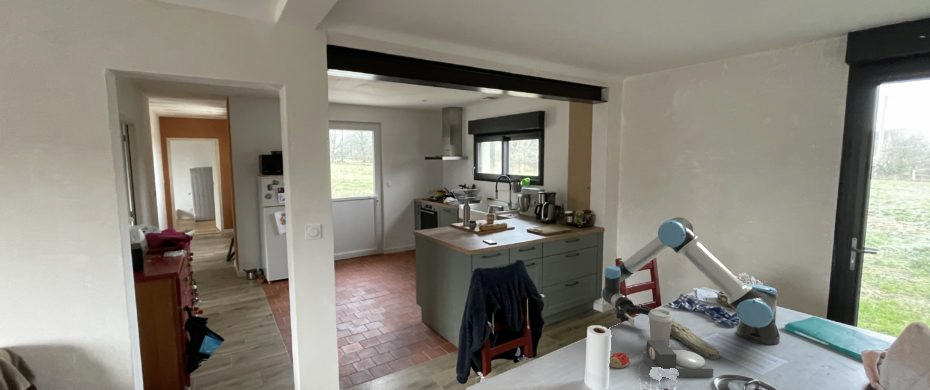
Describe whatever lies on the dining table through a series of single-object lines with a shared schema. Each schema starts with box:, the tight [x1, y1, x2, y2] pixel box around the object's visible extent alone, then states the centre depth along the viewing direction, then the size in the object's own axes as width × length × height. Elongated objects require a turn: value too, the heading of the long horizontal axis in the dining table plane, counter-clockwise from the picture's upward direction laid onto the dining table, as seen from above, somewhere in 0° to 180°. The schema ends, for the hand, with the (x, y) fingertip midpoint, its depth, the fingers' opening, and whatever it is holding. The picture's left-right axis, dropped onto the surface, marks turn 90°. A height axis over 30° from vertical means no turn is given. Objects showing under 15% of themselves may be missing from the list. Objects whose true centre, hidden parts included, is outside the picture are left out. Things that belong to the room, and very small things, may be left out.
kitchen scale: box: [642, 339, 714, 378], centre depth 144 cm, size 20×12×8 cm, turn 88°
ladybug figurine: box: [609, 351, 631, 369], centre depth 148 cm, size 7×10×4 cm
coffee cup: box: [647, 308, 674, 348], centre depth 160 cm, size 10×10×15 cm
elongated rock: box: [670, 320, 721, 360], centre depth 167 cm, size 35×5×10 cm
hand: (648, 321), depth 168 cm, fingers open, 13 cm apart
